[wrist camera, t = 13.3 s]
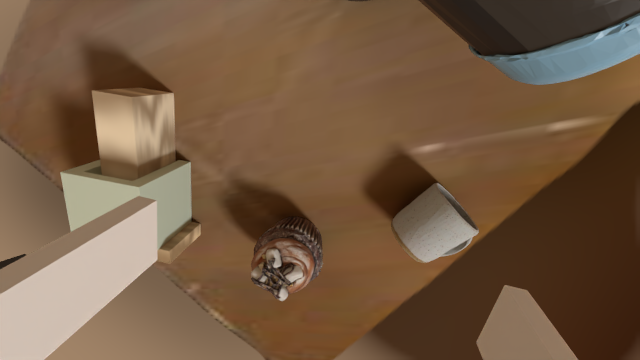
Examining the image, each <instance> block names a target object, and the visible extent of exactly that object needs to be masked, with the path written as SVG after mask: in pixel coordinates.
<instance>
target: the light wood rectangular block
mask: <svg viewBox="0 0 640 360" xmlns="http://www.w3.org/2000/svg"><path fill="white" fill-rule="evenodd" d="M92 97H93V105H94V113H95V122H96V130H97V138H98V147H99V155H100V163H101V172H102V175H103V176H108V177H113V178H119V179H124V180H129V181H134V180H136V179H139V178H141V177H143V176H145V175H147V174H150V173H152V172H154V171H156V170H158V169H161V168H163V167H165V166H167V165H169V164H171V163H174V162H176V153H175V119H174V93H170V92H164V91H158V90H152V89H146V88H123V89H106V90H92Z"/></svg>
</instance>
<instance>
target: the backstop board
mask: <svg viewBox="0 0 640 360" xmlns="http://www.w3.org/2000/svg"><path fill="white" fill-rule="evenodd" d="M199 235H201V224H200V223H195V222H191V223H189V224H188V225H187V226H186V227H185V228H184V229H182V230H181V231H180V232H179V233H178V234H176V235H175V236H174V237H173V238H172V239H170V240H169V241H168V242H167V243H166V244H164V245H163V246H162V247H161V248H160V249H158V250H157V260H156V261H160V262H165V263H169V264H170V263H171V262H172V261H173V260H174V259H176V258H177V257H178V256H179V255H180V254H181V253H182V252H183V251H184V250H185V249H186V248H187V247H188V246H189V245H190V244H191V243H192V242H193V241H194V240H195V239H196V238H197V237H198V236H199Z"/></svg>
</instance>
